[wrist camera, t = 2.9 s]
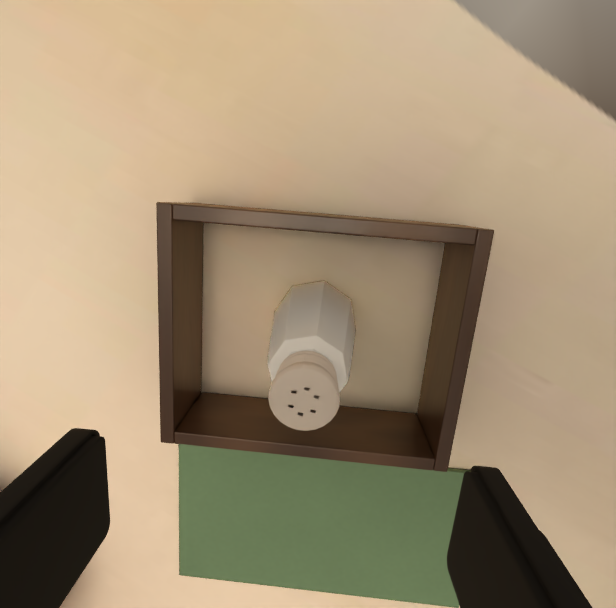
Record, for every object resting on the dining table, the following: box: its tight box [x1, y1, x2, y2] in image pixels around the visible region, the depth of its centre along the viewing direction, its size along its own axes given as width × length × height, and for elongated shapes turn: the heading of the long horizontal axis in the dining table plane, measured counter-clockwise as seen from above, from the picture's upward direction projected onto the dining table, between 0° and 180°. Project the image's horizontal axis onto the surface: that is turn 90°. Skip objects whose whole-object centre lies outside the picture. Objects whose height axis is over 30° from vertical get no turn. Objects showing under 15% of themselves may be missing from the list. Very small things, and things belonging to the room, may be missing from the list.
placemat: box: [179, 444, 471, 608], centre depth 29 cm, size 22×12×1 cm, turn 85°
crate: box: [157, 202, 494, 472], centre depth 23 cm, size 17×14×5 cm
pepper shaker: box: [268, 281, 356, 431], centre depth 20 cm, size 5×5×11 cm
